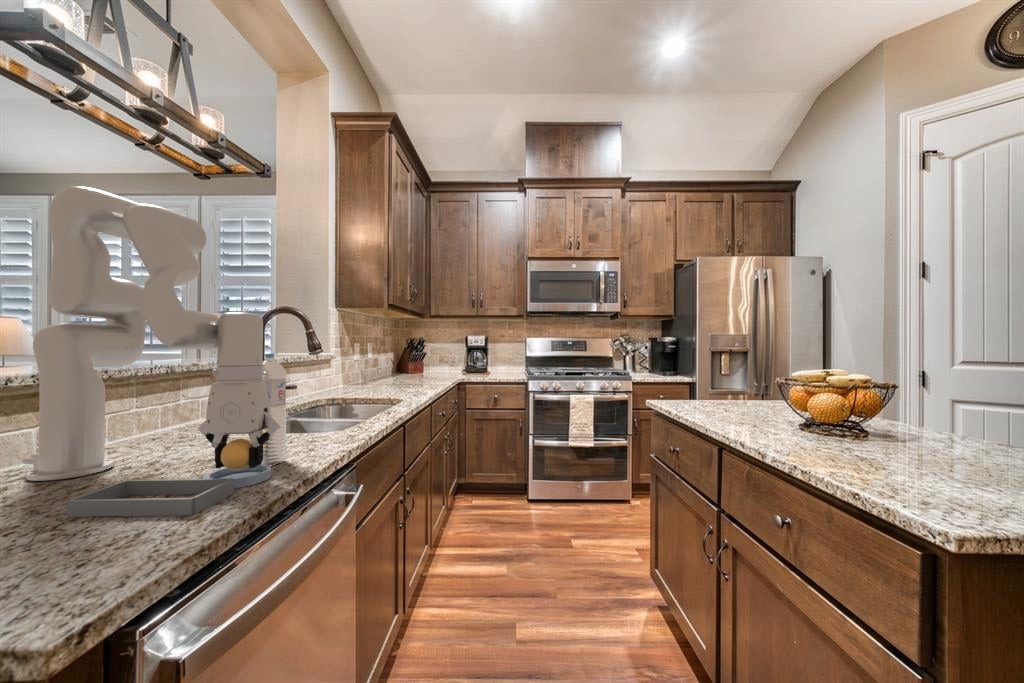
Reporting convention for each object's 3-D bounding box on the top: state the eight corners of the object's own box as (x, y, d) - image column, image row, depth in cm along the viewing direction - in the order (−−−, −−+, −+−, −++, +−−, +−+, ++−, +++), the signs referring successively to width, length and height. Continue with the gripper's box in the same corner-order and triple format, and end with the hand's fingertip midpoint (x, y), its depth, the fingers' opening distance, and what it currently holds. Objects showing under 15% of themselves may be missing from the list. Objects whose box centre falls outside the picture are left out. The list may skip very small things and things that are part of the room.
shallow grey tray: (64, 517, 62) (65, 501, 62) (125, 494, 73) (126, 480, 73) (192, 515, 63) (192, 499, 63) (235, 492, 73) (235, 478, 73)
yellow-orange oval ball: (212, 474, 77) (213, 442, 77) (233, 465, 83) (233, 436, 83) (244, 473, 77) (245, 442, 77) (263, 465, 83) (263, 435, 83)
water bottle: (269, 468, 88) (270, 353, 88) (242, 467, 89) (244, 353, 90) (292, 460, 95) (293, 353, 95) (267, 458, 96) (268, 353, 97)
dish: (190, 490, 74) (190, 480, 74) (229, 472, 85) (229, 464, 85) (250, 489, 75) (250, 480, 75) (281, 471, 86) (281, 463, 86)
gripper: (181, 376, 76) (179, 472, 76) (273, 375, 77) (272, 471, 77) (209, 373, 84) (208, 461, 84) (293, 373, 85) (292, 460, 84)
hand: (239, 465), depth 80 cm, fingers closed on yellow-orange oval ball, 5 cm apart
